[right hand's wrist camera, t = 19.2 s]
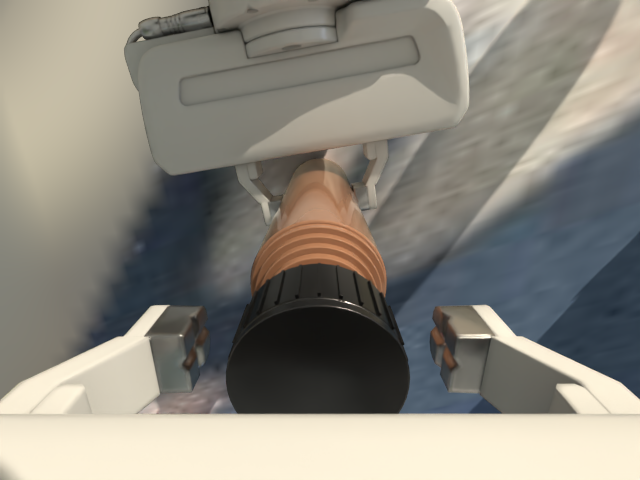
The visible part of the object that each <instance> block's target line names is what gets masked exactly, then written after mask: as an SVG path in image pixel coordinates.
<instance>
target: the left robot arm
mask: <svg viewBox="0 0 640 480" xmlns="http://www.w3.org/2000/svg"><path fill="white" fill-rule="evenodd" d="M208 2H209V6H207V7H201V8H197V9H192V10H188V11H183V12H180V13H178V14H175V15H172V16H168V17H163V18H161V17H152V18H148V19H145V20H143V21H141V22H139V29H137V30H136V31H134V32H133V33H132V34H131V35H130V37H129V38H128V41H127V44H126V46H125V48H124V54H125V60H126V63H127V66H128V69H129V72H130V75H131V78H132V81H133V83H134V85H135V87H136V88H137V90H138V91H139V96H140V103H141V109H142V115H143V120H144V125H145V130H146V134H147V138H148V142H149V146H150V150H151V153H152V156H153V159H154V161H155V163H156V164H157V165H158V166H159V167H160V168H162V169H163V170H164V171H165V172H167V173H168V174H169V175H172V176H174V175H180V174H186V173H192V172H198V171H204V170H210V169H216V168H222V167H227V166H233V165H235V169H236V173H237V177H238V181H239V183H240V184H241V185H242V186H243V187H244V188H245V189H246V191H247V192H248V193H249V194H250V195H251V196H252V197H253V198H254V199H255V200H256V201H257V202H258V203H261V208H262V212H263V216H264V220H265V224H266V226H270V224H271V222H272V220H273V218H274V216H275V213H276V211H277V209H278V207H279V204H280V202H281V200H282V198H283V196H284V195H279V196H273V195H272V194H271V193H270V192H269V191H268V190H267V188H266V187H265V186H264V185H263V184H262V182H261V181H260V180H259V179H258V177H259V176H260V175H261V174H262V173H263V169H262V165H261V161H263V160H268V159H274V158H280V157H286V156H292V155H298V154H304V153H310V152H315V151H321V150H327V149H333V148H339V147H345V146H351V145H357V144H362V145H363V153H364V156H365V157H366V158H367V159H369V160H370V163H369V165H368V168H367V170H366V172H365V175H364V177H363V180H362V182H358V183H353V184H351V185H352V190H353V193H354V195H355V197H356V200H357V202H358V204H359V207H360V209H361V211H365V210H369V209H370V210H371V209H376V208H377V202H376V193H375V185H376V184H377V182H378V180H379V178H380V175H381V173H382V171H383V169H384V166H385V164H386V162H387V160H388V158H389V156H388V145H387V139H392V138H398V137H404V136H409V135H415V134H421V133H427V132H433V131H439V130H444V129H450V128H454V127H456V126H457V125H458V124H459V123H460V121H461V120H462V118H463V117H464V115H465V113H466V112H467V110H468V107H469V76H468V63H467V54H466V46H465V39H464V33H463V27H462V22H461V18H460V15H459V12H458V10H457V8H456V6H455V5H454V3H453V2H452V0H208ZM173 34H174V35H173ZM142 36H143V38H144V39H146V40H145V41H139V42H136V41H137V40H138V39H139V38H140V37H142Z"/></svg>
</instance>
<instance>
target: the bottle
mask: <svg viewBox="0 0 640 480" xmlns="http://www.w3.org/2000/svg"><path fill="white" fill-rule="evenodd" d="M318 263H321V264H331V265H340V267H343V268H346V269H349V270H352V271H357V273H358V274H360V275H361V276H363V277H364V278H366V279H367V280H371V281H372V284H373V285H374V286H375V287H376V288H377V289H378V290H379V292H382V293H383V294H384V297H385V294H386V286H387V276H386V269H385V266H384V262H383V260H382V257H381V255H380V253H379V250H378V248H377V246H376V243H375V241H374V239H373V237H372V234H371V232H370V230H369V227H368V225H367V223H366V220H365V218H364V216H363V213H362V211H361V209H360V207H359V204H358V202H357V200H356V197H355V195H354V193H353V190H352V188H351V186H350V183H349V181H348V179H347V177H346V174H345V173H344V171H343V170H342V168H341V167H340V166H339V165H337V164H336V163H334V162H332V161H330V160H327V159H321V158H317V159H311V160H308V161H306V162H304V163H303V164H301V165H300V166H299V167H298V168H297V169H296V170H295V172H294V174H293V176H292V178H291V180H290V182H289V184H288V187H287V189H286V191H285V193H284V196H283V198H282V200H281V202H280V204H279V207H278V209H277V211H276V213H275V216H274V218H273V220H272V222H271V224H270V227H269V229H268V231H267V233H266V235H265V238H264V240H263V242H262V244H261V247H260V249H259V251H258V253H257V255H256V258H255V260H254V263H253V266H252V271H251V293H252V297H253V294H254V292H255V291H258V290H259V288H260V287H261V286H263V285H264V284H265V282H266V280H267V279H271V278H272V277H273V276H275V275H277V274H279V273H281V271H282V270H284V271H285V270H287V269H290V268H293V267H297V266H299V265H300V264H302V265H307V264H318Z"/></svg>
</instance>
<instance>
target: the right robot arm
mask: <svg viewBox="0 0 640 480" xmlns="http://www.w3.org/2000/svg"><path fill="white" fill-rule="evenodd" d="M207 319H208V318H207V312H206V309H205V307H204V306H178V305H171V306H170V305H154V306H151V307H150V308H149V309H148V310H147V311H146V312H145V313H144V314H143V315H142V316H141V318H140V319H139V320H138V321H137V322H136V323H135V324H134V325H133V326H132V328H131V329H130V330H129V331H128V332H127V333H126V334H125V335H124V337H116V338H114V339H112V340H110V341H107V342H105V343H103V344H101V345H99V346H97V347H95V348H92V349H90V350H88V351H86V352H84V353H82V354H80V355H77V356H75V357H73V358H71V359H69V360H67V361H65V362H62V363H60V364H58V365H56V366H54V367H52V368H50V369H47V370H45V371H43V372H41V373H39V374H37V375H35V376H32V377H30V378H28V379H26V380H24V381H22V382H20V383H19V384H17V386H15V387H14V388H13V389H12V390H11V391H10V392H9V393H7V394H6V395H5V396H4V397H3V398H2V399H1V400H0V480H640V399H638V398H637V397H636V396H635V395H634V394H633V393H632V392H631V391H629V390H628V389H627V388H626V387H625V386H624V385H623V384H622V383H620V382H618V381H616V380H614V379H612V378H609V377H607V376H605V375H603V374H601V373H599V372H597V371H595V370H592V369H590V368H588V367H586V366H584V365H582V364H580V363H577V362H575V361H573V360H571V359H569V358H567V357H565V356H562V355H560V354H558V353H556V352H554V351H552V350H550V349H548V348H545V347H543V346H541V345H539V344H537V343H535V342H533V341H530V340H528V339H526V338H524V337H516V335H515V334H514V333H513V332H512V331H511V330H510V329H509V328H508V326H507V325H506V324H505V323H504V322H503V321H502V320H501V319H500V318H499V316H498V315H497V314H496V313H495V312H494V311H493V310H492V309H491V308H490V307H489V306H487V305H473V306H437V307H435V309H434V311H433V318H432V319H433V321H434V323H435V325H436V327H435V328H434V329H433V330H432V331H431V333H430V351H431V355H432V358H433V360H434V362H435V364H436V365H438V366H439V367H441V372H440V375H441V378H442V380H443V382H444V384H445V386H446V388H447V390H448V392H458V393H480V395H481V396H482V397H483V398H484V399H486V400H487V401H488V402H489V403H490V404H492V405H493V406H494V407H495V408H496V409H498V410H499V411H500V412H501V413H503V414H138V413H139V412H140V411H141V410H142V409H144V408H145V407H146V406H147V405H148V404H150V403H151V402H152V401H153V400H155V399H156V398H157V397H158V396H159V395H160V393H181V392H192V390H193V388H194V386H195V384H196V382H197V380H198V378H199V375H200V372H199V367H201V366H202V365H204V364H205V362H206V360H207V358H208V355H209V350H210V333H209V331H208V330H207V329H206V328H205V327H204V325H205V323H206V321H207Z"/></svg>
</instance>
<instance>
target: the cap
mask: <svg viewBox="0 0 640 480" xmlns="http://www.w3.org/2000/svg"><path fill="white" fill-rule="evenodd" d="M232 343H234V344H233V346H232V349H231V351H230V354H229V357H228V364H227V370H226V385H227V391H228V395H229V398H230V401H231V403H232V405H233V407H234V409H235V410H236V412H237V413H238V414H398V413H399V412H400V410H401V409H402V407H403V405H404V403H405V400H406V398H407V394H408V390H409V384H410V372H409V365H408V358H407V355H406V352H405V350H404V347H403V345H404V342H403V339H402V337H401V334H400V331H399V328H398V326H397V323H396V320H395V318H394V315H393V312H392V309H391V307H390V306H388V305H387V303H386V300H385V297H384V294H383V293H382V292H379V290H378V289H377V288H376V287H375V286H374V285H373V284H372V281H371V280H367V279H366V278H364V277H363V276H361V275H360V274H358V273H357V271H352V270H349V269H346V268H343V267H340V265H331V264H321V263H318V264H307V265H302V264H300V265H299V266H297V267H293V268H290V269H287V270H285V271H284V270H282V271H281V273H279V274H277V275H275V276H273V277H272V278H271V279H267V280H266V282H265V284H264V285H263V286H261V287H260V288H259V290H258V291H255V292H254V294H253V297H252V300H251V302H250V304H247V306H246V308H245V311H244V313H243V316H242V319H241V321H240V324H239V326H238V329H237V332H236V334H235V337H234V339H233V342H232Z"/></svg>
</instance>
